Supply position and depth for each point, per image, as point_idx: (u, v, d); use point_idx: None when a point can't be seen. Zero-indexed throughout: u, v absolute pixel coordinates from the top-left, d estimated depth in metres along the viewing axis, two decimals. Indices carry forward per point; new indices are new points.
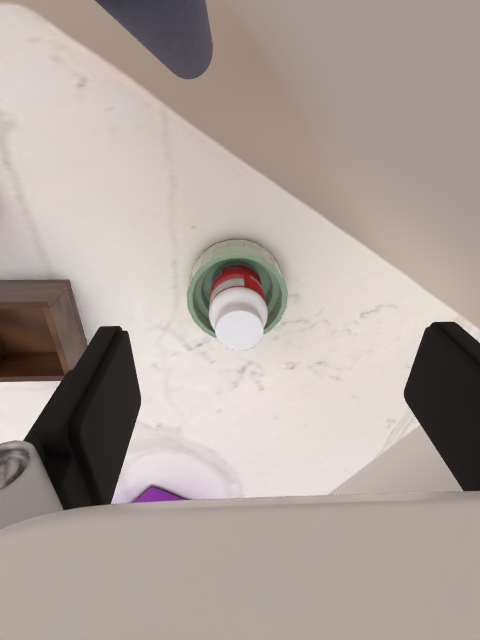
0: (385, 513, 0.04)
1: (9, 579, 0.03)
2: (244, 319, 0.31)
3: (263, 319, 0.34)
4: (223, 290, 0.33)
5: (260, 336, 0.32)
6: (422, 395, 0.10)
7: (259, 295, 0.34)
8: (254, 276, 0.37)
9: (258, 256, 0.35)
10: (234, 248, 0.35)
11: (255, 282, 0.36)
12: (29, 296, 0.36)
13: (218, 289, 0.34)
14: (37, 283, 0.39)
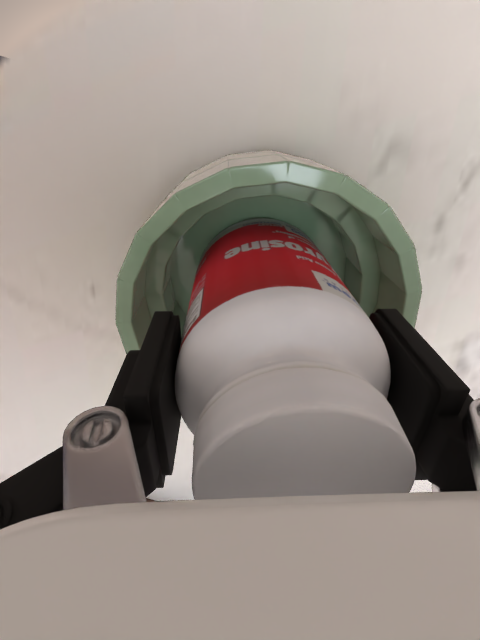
0: (385, 513, 0.04)
1: (9, 579, 0.03)
2: (256, 457, 0.06)
3: (347, 340, 0.08)
4: None
5: (391, 441, 0.06)
6: None
7: (255, 292, 0.08)
8: (240, 241, 0.12)
9: None
10: None
11: (241, 257, 0.11)
12: None
13: None
14: None
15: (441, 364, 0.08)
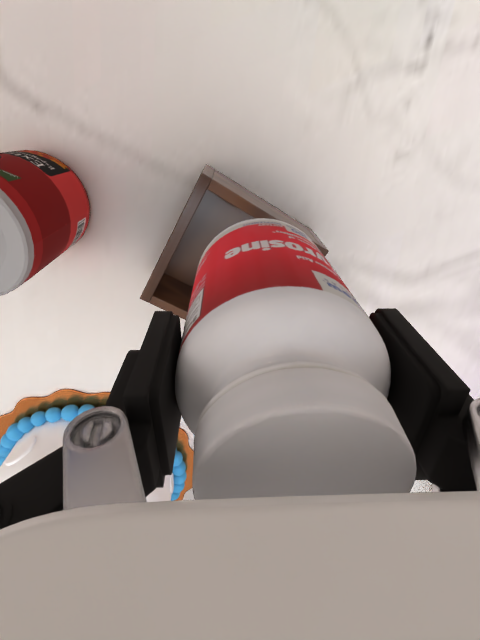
0: (385, 513, 0.04)
1: (8, 580, 0.03)
2: (256, 457, 0.06)
3: (347, 340, 0.08)
4: None
5: (392, 441, 0.06)
6: None
7: (256, 292, 0.08)
8: (240, 241, 0.12)
9: None
10: None
11: (241, 257, 0.11)
12: None
13: None
14: None
15: (441, 364, 0.08)
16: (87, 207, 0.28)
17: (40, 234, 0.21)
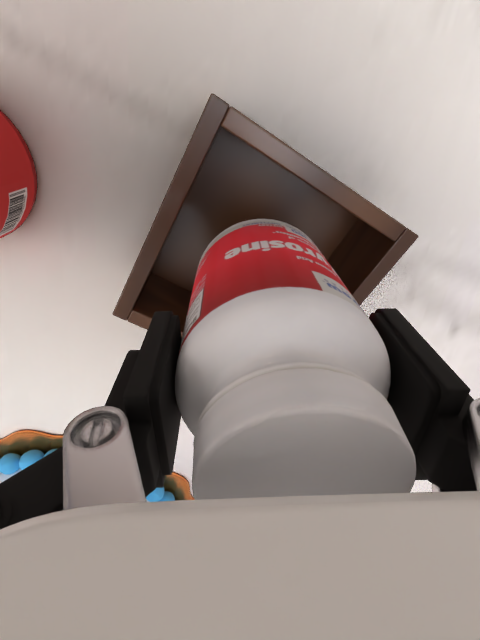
0: (385, 513, 0.04)
1: (8, 579, 0.03)
2: (257, 457, 0.06)
3: (347, 341, 0.08)
4: None
5: (392, 442, 0.06)
6: None
7: (256, 293, 0.08)
8: (240, 241, 0.12)
9: None
10: None
11: (241, 257, 0.11)
12: None
13: None
14: None
15: (441, 364, 0.08)
16: (29, 172, 0.18)
17: None
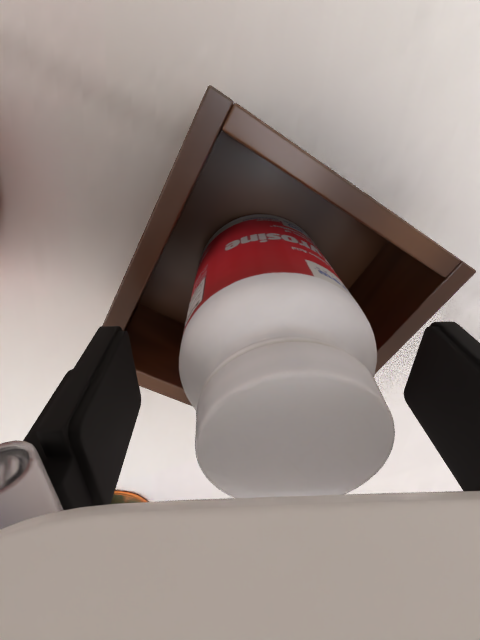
0: (385, 513, 0.04)
1: (9, 579, 0.03)
2: (252, 418, 0.07)
3: (335, 320, 0.09)
4: None
5: (371, 404, 0.07)
6: (422, 394, 0.10)
7: (253, 278, 0.09)
8: (239, 234, 0.13)
9: None
10: None
11: (240, 248, 0.12)
12: None
13: None
14: None
15: None
16: None
17: None
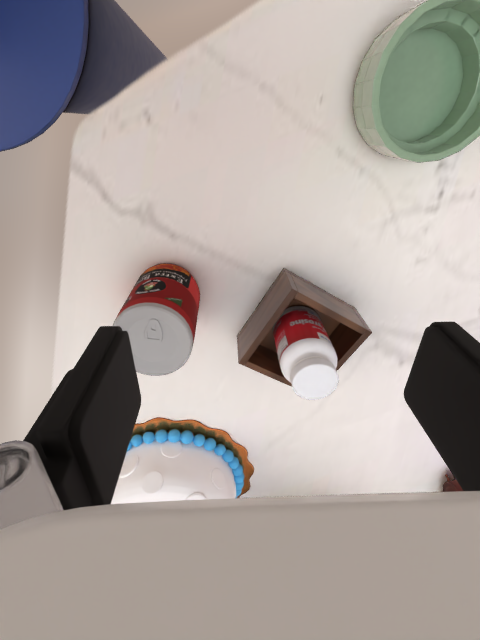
0: (385, 513, 0.04)
1: (8, 579, 0.03)
2: (306, 374, 0.32)
3: (325, 351, 0.34)
4: (280, 361, 0.36)
5: (332, 371, 0.32)
6: (422, 395, 0.10)
7: (303, 339, 0.34)
8: (293, 318, 0.38)
9: (416, 9, 0.24)
10: (381, 46, 0.26)
11: (296, 326, 0.37)
12: (277, 301, 0.36)
13: None
14: (269, 292, 0.40)
15: None
16: (199, 298, 0.40)
17: (194, 335, 0.33)
